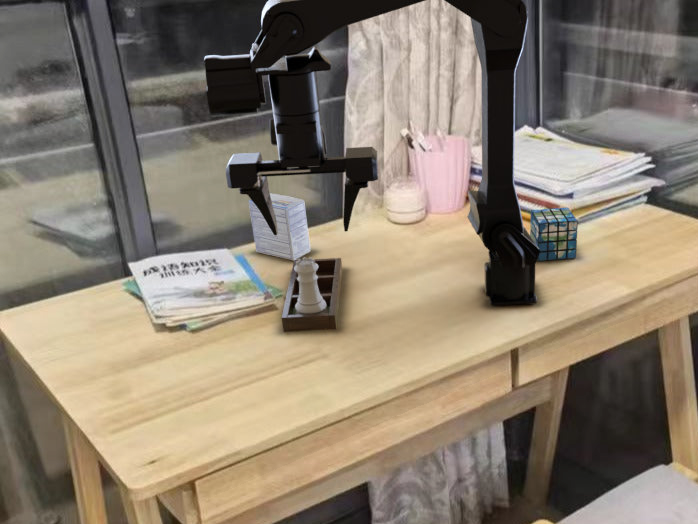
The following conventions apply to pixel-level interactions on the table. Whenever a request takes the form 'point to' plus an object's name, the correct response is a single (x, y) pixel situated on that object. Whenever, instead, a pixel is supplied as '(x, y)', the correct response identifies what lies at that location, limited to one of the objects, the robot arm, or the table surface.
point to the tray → (328, 289)
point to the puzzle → (554, 233)
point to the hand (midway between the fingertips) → (311, 232)
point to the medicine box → (282, 228)
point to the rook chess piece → (308, 288)
